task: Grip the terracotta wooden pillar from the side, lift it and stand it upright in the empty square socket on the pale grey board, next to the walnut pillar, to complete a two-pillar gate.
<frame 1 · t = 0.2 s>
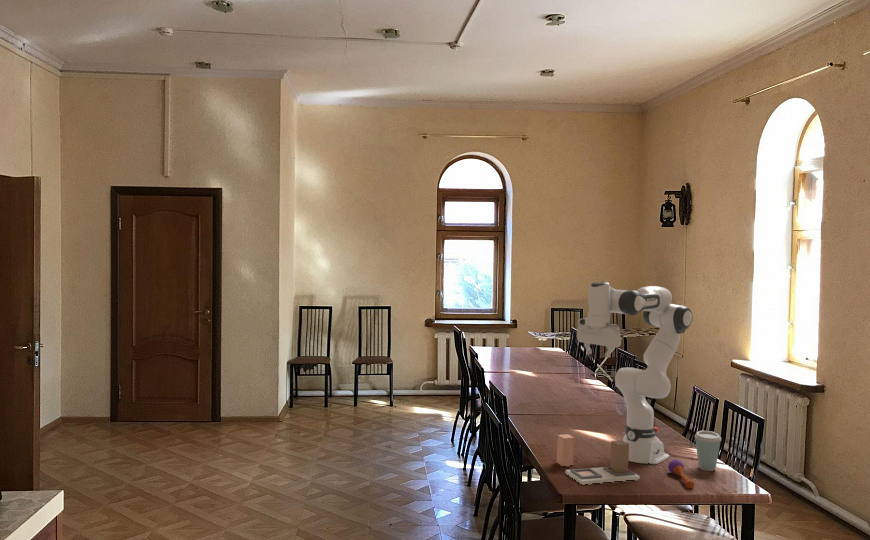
hand: (598, 355, 282), 48 cm above the table, tool pointing down, fingers open, 8 cm apart
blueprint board: (602, 476, 278), on the table
disposable coffee cup: (706, 469, 294), on the table
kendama: (681, 480, 278), on the table
terracotta pillar: (564, 464, 292), on the table
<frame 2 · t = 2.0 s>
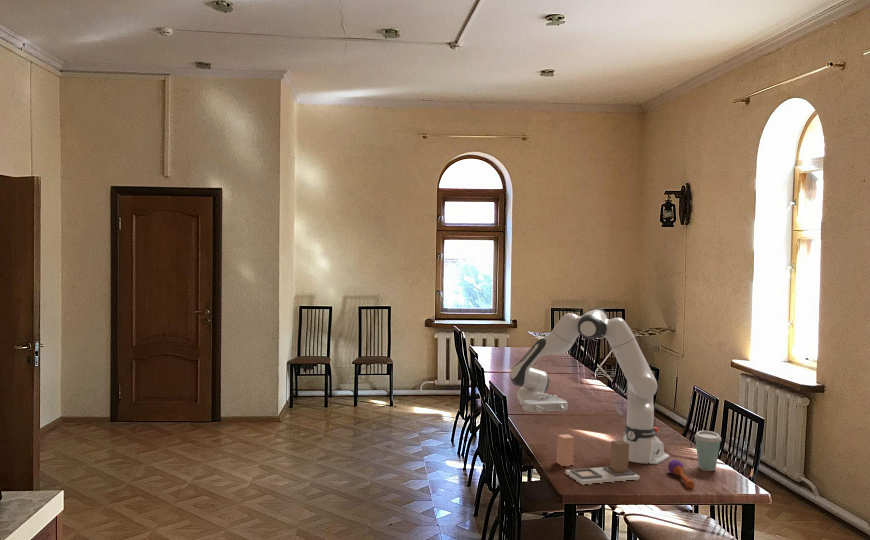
hand: (553, 409, 302), 20 cm above the table, tool horizontal, fingers open, 8 cm apart
nothing on the table moved.
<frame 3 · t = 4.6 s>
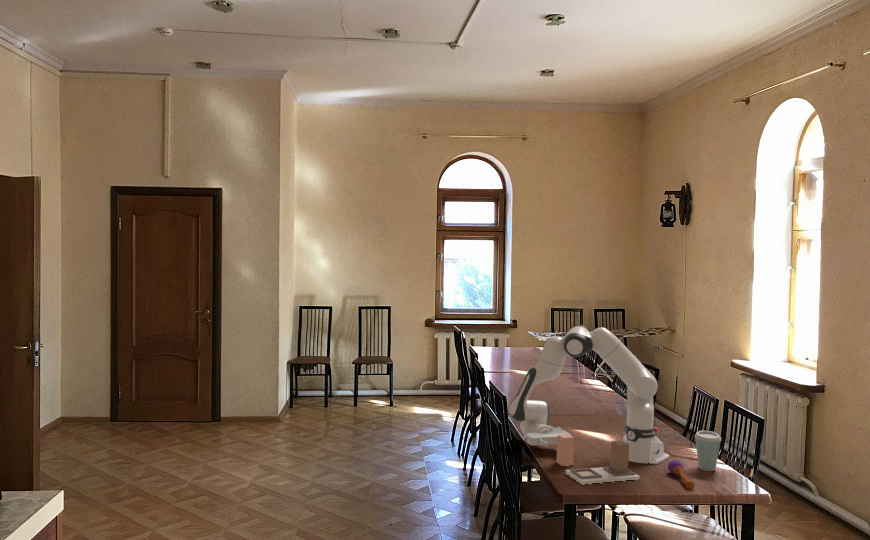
hand: (556, 443, 299), 6 cm above the table, tool horizontal, fingers open, 8 cm apart
nothing on the table moved.
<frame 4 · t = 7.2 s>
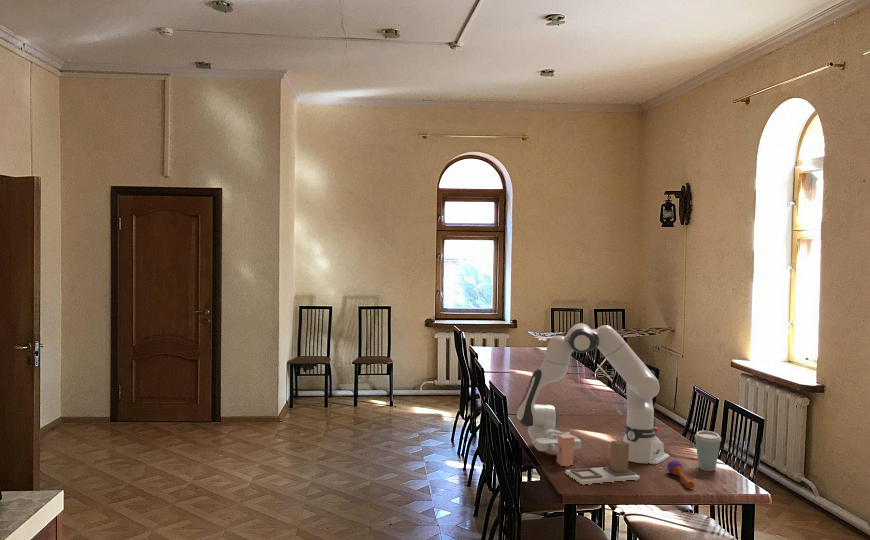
hand: (566, 449, 291), 7 cm above the table, tool horizontal, fingers closed on terracotta pillar, 5 cm apart
terracotta pillar: (564, 464, 292), on the table, touching gripper
everything else where it was.
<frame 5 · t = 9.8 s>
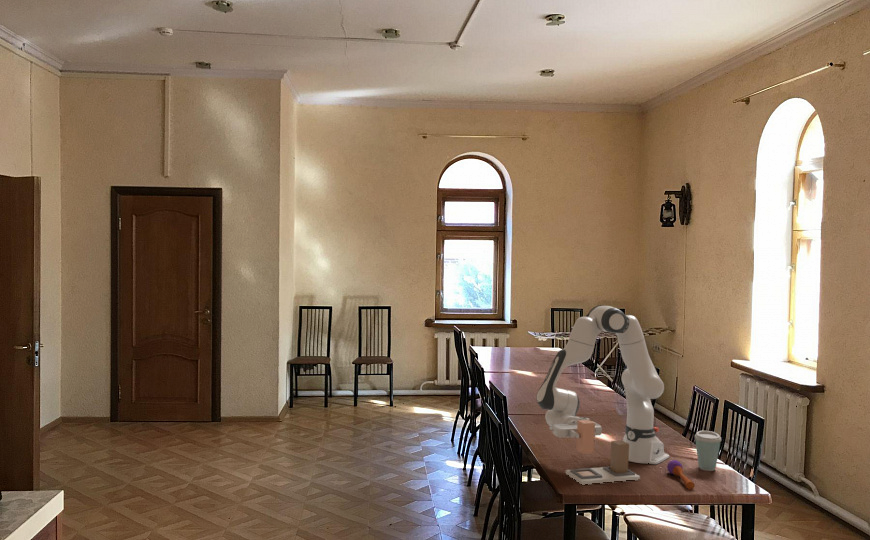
hand: (586, 435, 275), 17 cm above the table, tool horizontal, fingers closed on terracotta pillar, 5 cm apart
terracotta pillar: (584, 451, 277), point 10 cm above the table, touching gripper
everything else where it was.
when the fingers open (9 cm above the table, at t = 12.7 s): terracotta pillar drops 1 cm, resting on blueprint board.
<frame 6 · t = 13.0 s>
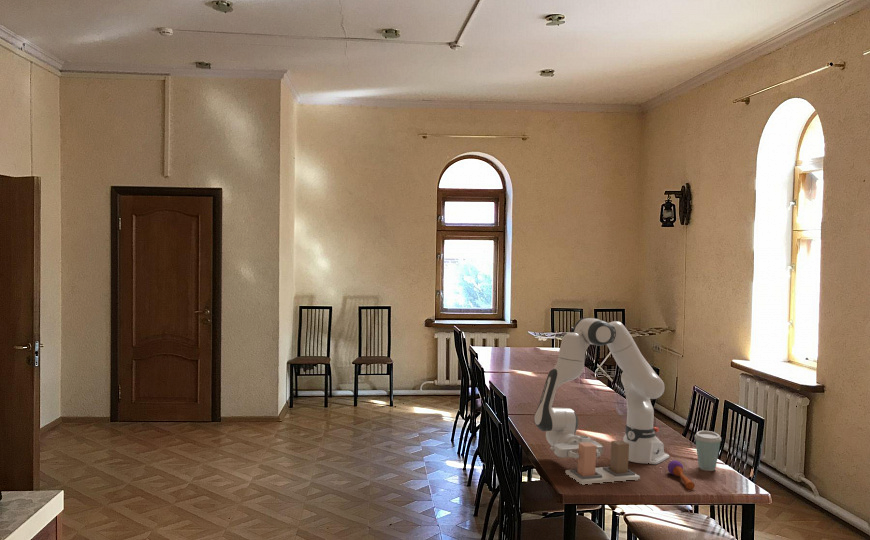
hand: (588, 455, 274), 9 cm above the table, tool horizontal, fingers open, 8 cm apart
terracotta pillar: (586, 474, 276), point 2 cm above the table, touching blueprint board
everything else where it was.
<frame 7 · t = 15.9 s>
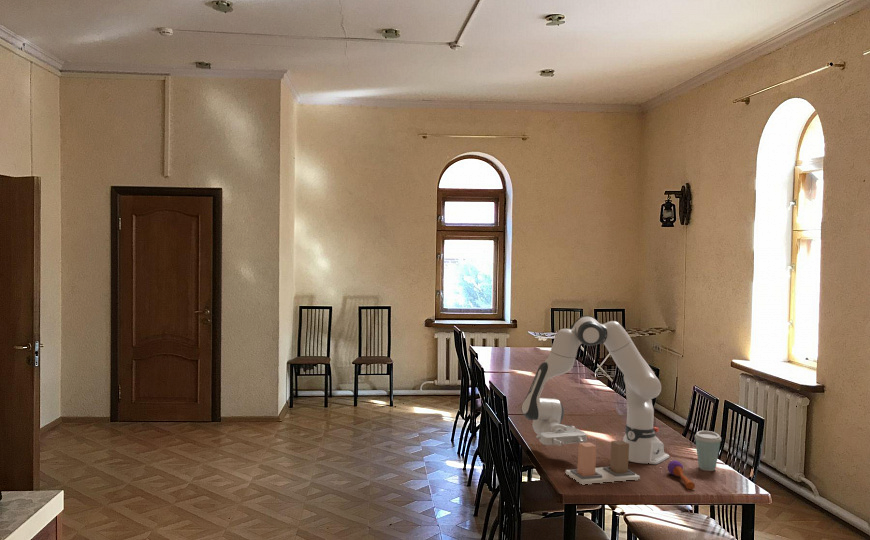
hand: (572, 443, 287), 10 cm above the table, tool horizontal, fingers open, 8 cm apart
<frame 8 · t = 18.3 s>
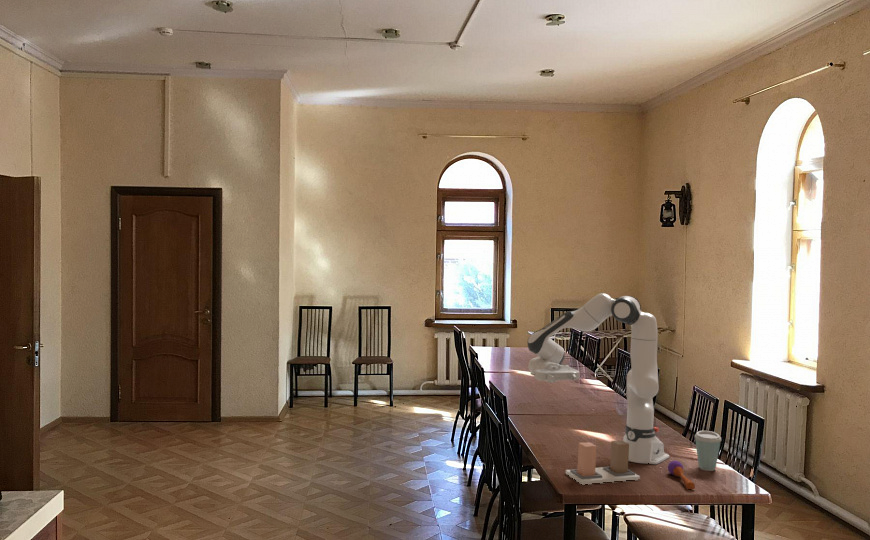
hand: (565, 378, 297), 35 cm above the table, tool horizontal, fingers open, 8 cm apart
at the end: terracotta pillar 0.1 cm from the target spot on the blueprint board, point 1.6 cm above the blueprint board's base; terracotta pillar tilted 0°; the gripper is holding nothing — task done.
